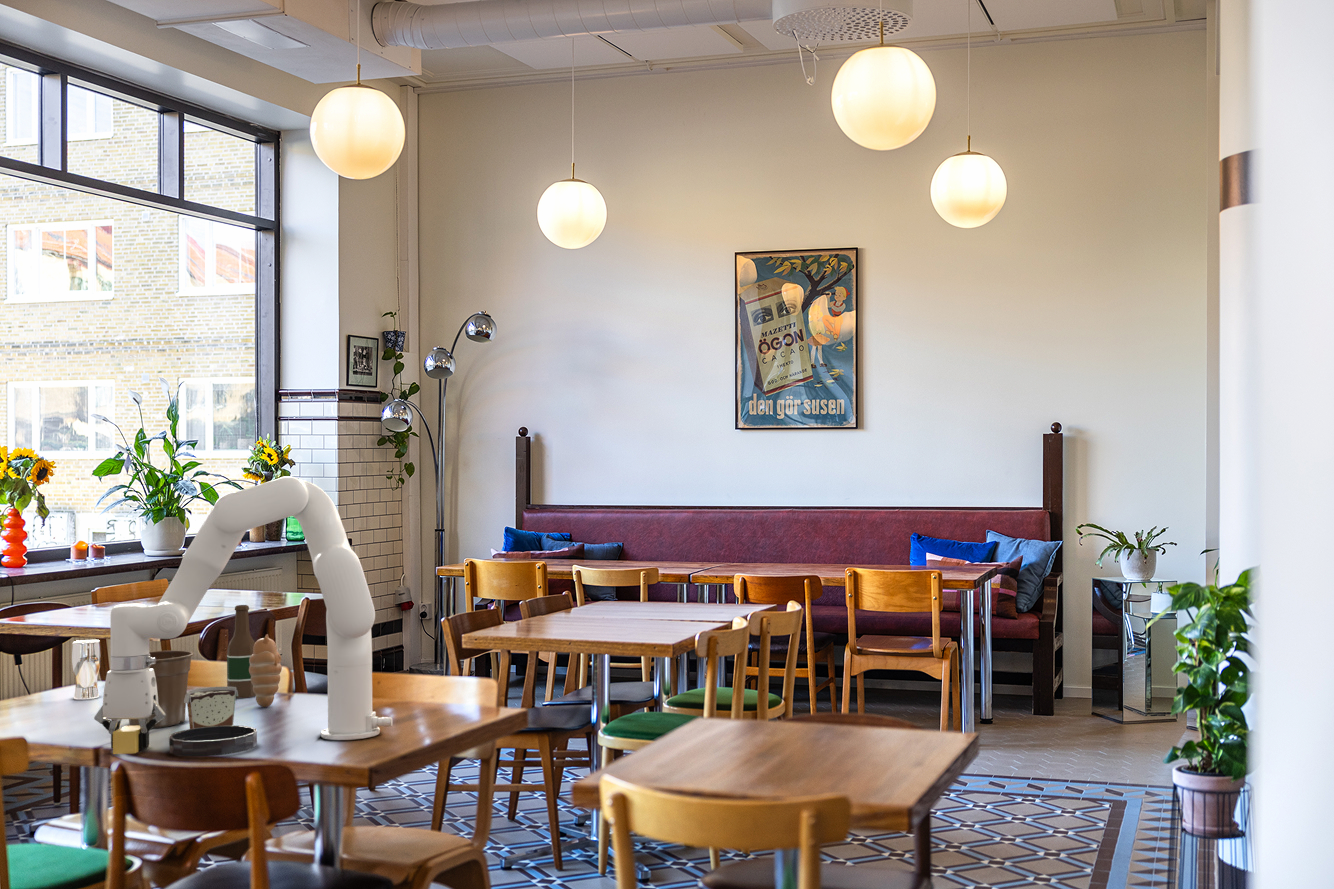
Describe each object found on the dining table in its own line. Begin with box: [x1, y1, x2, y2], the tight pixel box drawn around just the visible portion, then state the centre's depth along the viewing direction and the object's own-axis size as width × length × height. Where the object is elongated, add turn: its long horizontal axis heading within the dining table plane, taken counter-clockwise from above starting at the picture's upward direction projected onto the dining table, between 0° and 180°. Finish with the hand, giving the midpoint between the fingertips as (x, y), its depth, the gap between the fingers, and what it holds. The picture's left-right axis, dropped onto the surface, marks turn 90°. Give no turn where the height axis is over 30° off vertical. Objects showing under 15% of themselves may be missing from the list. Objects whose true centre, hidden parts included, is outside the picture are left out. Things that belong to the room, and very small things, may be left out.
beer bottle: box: [226, 604, 256, 699], centre depth 337 cm, size 8×8×24 cm
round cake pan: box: [168, 724, 258, 757], centre depth 266 cm, size 17×17×4 cm
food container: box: [184, 686, 238, 729], centre depth 284 cm, size 12×6×10 cm, turn 141°
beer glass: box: [71, 639, 102, 701], centre depth 339 cm, size 7×7×15 cm
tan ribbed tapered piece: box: [249, 633, 283, 708], centre depth 319 cm, size 9×8×18 cm
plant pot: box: [128, 650, 194, 729], centre depth 298 cm, size 16×16×16 cm
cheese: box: [112, 725, 141, 755], centre depth 265 cm, size 4×7×5 cm, turn 3°
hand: (130, 750), depth 265 cm, fingers closed on cheese, 4 cm apart
